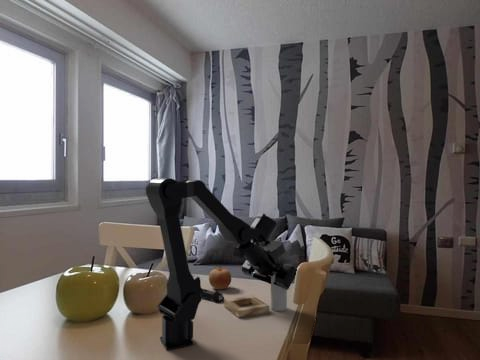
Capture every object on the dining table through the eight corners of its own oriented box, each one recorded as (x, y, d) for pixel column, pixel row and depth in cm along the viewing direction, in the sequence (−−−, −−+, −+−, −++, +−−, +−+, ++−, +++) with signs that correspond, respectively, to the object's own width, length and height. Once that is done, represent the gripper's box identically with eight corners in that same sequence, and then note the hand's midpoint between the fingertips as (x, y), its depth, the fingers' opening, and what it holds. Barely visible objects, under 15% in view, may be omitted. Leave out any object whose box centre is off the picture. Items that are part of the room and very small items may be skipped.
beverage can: (273, 312, 105) (274, 271, 105) (268, 307, 110) (268, 267, 110) (289, 311, 106) (289, 270, 106) (283, 305, 111) (283, 266, 111)
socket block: (238, 318, 101) (238, 310, 101) (223, 306, 110) (224, 299, 110) (269, 312, 106) (269, 305, 105) (252, 301, 114) (252, 295, 114)
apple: (207, 285, 131) (207, 263, 131) (229, 284, 133) (229, 263, 132) (209, 292, 123) (210, 269, 123) (232, 291, 125) (233, 268, 125)
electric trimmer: (189, 292, 124) (189, 283, 124) (225, 300, 116) (225, 291, 116) (181, 295, 121) (181, 285, 121) (217, 304, 112) (217, 294, 112)
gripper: (294, 237, 98) (319, 271, 105) (249, 229, 113) (273, 259, 120) (273, 270, 93) (300, 303, 100) (229, 257, 108) (256, 287, 115)
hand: (282, 286), depth 109 cm, fingers closed on beverage can, 5 cm apart
